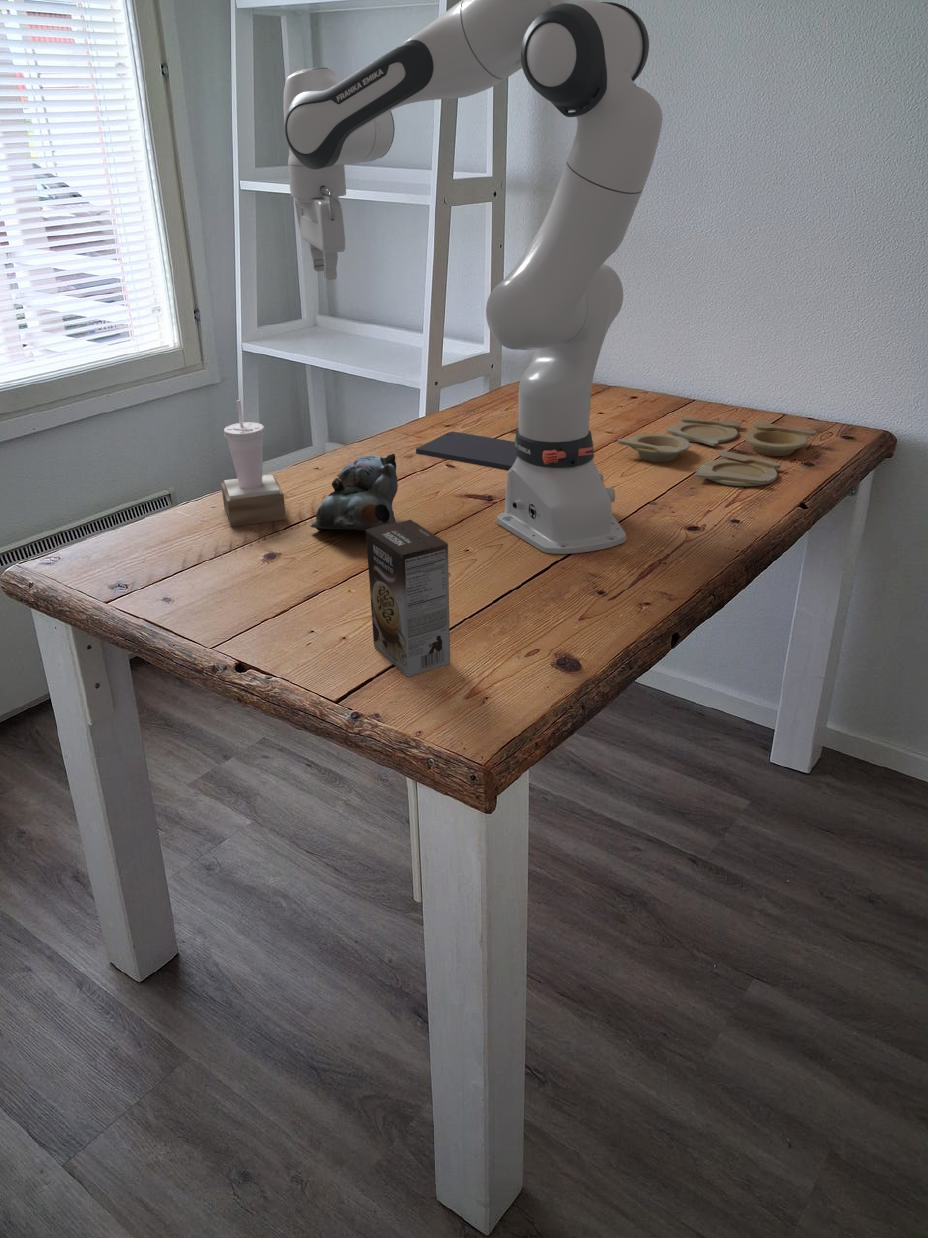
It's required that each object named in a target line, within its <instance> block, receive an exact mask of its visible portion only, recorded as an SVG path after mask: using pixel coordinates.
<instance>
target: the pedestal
mask: <svg viewBox="0 0 928 1238" xmlns="http://www.w3.org/2000/svg"><path fill="white" fill-rule="evenodd" d="M220 486H221V493H222V499H223V500H222V501H223V507H224V512H225V514H226V517H227V519H228V523H229V526H230V527H231V528H232V527H240V526H247V525H254V524H261V523H268V522H276V521H284V520H285V521H286V520H287V515H286V514H287V513H286V504H285V495H284V492H283V490H282V488H281V487H280V484H279V482H278V480H277V478H276V476H273V474H264V475H263V474H262V486H260V487H258V488H254V489H243V488H241V487H240V486H239V482H238V478H232V479H224V480H223V482H220Z"/></svg>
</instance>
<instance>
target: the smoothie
mask: <svg viewBox="0 0 928 1238" xmlns="http://www.w3.org/2000/svg"><path fill="white" fill-rule="evenodd" d="M236 406H237V412H238V413H237V414H238V422H237V423H233V424H230V425H227V426H226V427H224V429H223V434H224V437H225V438H226V439H227V443H228V447H229V451H230V455H231V458H232V462H233V467H234V470H235V474H236V477H237V478H236V479H238V482H239V486H240V487H241V488H243V489H254V488H258V487H260V486H262V476H263V461H264V460H263V457H264V455H263V448H264V447H263V445H264V442H263V440H264V439H263V438H264V436H263V435H264V434H266V433H265V431H266V430H265V425H263V424H261V423H259V422H247V421H246V422H244V419H243V413H242V412H243V411H242V403H241V400H240V399H237V400H236Z"/></svg>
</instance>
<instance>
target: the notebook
mask: <svg viewBox="0 0 928 1238" xmlns="http://www.w3.org/2000/svg"><path fill="white" fill-rule="evenodd" d="M415 454H416V455H422V456H427V457H433V458H438V459H444V460H449V461H455V462H459V463H465V464H471V465H475V466H476V465H477V466H483V467H488V468H491V469H492V468H494V469H498V470H504V471H507V472H508V471H509V470H510V468H511V467H512V466H513V464H514V462H515V460H516V458H517V455H516V453H515V441H511V440H508V439H507V440H506V439H499V438H494V437H488V436H482V435H475V434H469V433H464V432H460V431H459V432H458V431H449V432H446V433H444V434H442V435H440V436H439V437H437V438H434V439H433V440H430V441H428V442H426V443H425V444H423V445H420V446H418V447H416V448H415Z"/></svg>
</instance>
